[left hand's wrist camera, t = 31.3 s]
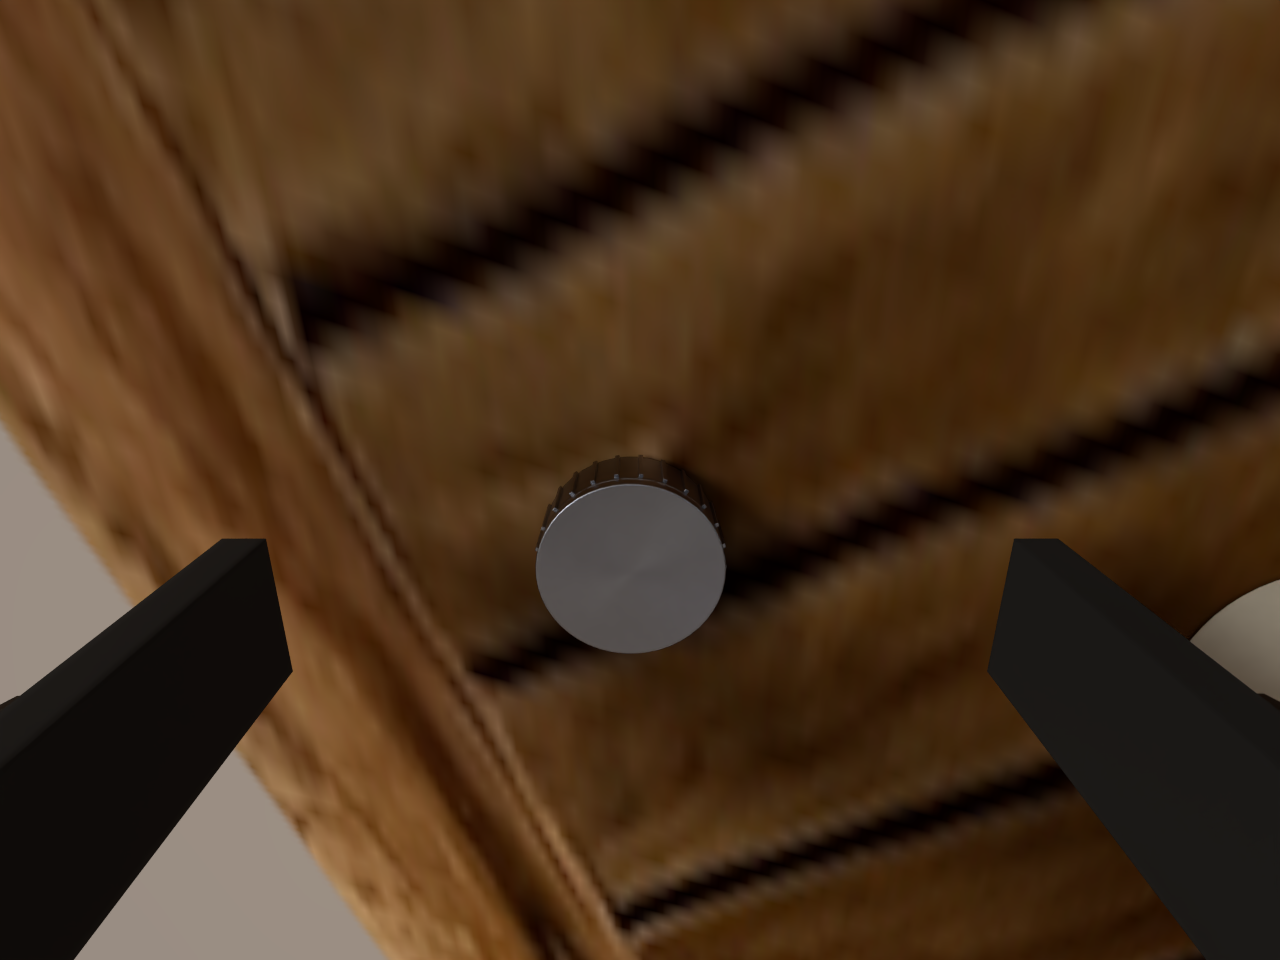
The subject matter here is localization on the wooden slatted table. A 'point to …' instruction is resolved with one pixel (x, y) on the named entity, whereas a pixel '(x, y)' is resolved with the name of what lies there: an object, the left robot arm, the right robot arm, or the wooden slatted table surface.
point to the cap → (630, 556)
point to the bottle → (1247, 639)
